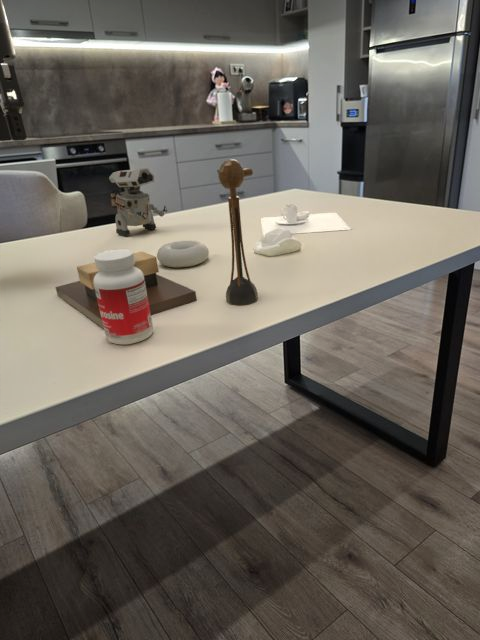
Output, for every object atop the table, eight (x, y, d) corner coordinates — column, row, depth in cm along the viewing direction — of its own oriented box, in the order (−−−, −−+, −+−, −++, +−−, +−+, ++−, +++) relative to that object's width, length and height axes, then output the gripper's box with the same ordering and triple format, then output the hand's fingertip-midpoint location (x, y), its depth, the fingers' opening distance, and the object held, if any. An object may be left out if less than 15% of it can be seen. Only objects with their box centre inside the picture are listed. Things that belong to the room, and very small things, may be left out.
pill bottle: (97, 338, 63) (77, 257, 58) (135, 322, 67) (119, 245, 62) (125, 350, 60) (106, 264, 55) (163, 332, 64) (149, 251, 59)
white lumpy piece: (292, 234, 89) (244, 233, 92) (293, 258, 91) (246, 256, 94) (306, 222, 97) (261, 222, 100) (307, 244, 99) (263, 243, 102)
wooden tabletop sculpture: (248, 290, 77) (238, 155, 68) (268, 296, 74) (261, 156, 64) (220, 300, 73) (205, 160, 64) (240, 307, 70) (227, 161, 61)
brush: (95, 302, 71) (88, 273, 69) (83, 294, 75) (76, 266, 73) (160, 283, 77) (156, 256, 75) (146, 277, 81) (142, 251, 79)
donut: (213, 254, 97) (164, 255, 98) (211, 237, 96) (162, 239, 97) (205, 269, 88) (152, 270, 89) (203, 251, 87) (149, 252, 88)
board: (104, 329, 66) (101, 319, 65) (57, 295, 80) (55, 286, 79) (196, 300, 74) (195, 291, 73) (139, 273, 88) (138, 265, 87)
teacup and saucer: (308, 217, 123) (308, 201, 121) (312, 224, 115) (312, 207, 114) (274, 220, 122) (273, 203, 121) (276, 227, 115) (275, 209, 114)
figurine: (139, 240, 112) (126, 172, 105) (113, 234, 119) (100, 170, 113) (170, 232, 118) (161, 167, 111) (144, 226, 125) (134, 165, 118)
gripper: (20, 15, 69) (49, 138, 76) (-5, 31, 79) (23, 139, 86) (-38, 12, 65) (-2, 142, 72) (-56, 29, 75) (-23, 142, 82)
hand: (12, 140), depth 79 cm, fingers open, 8 cm apart
